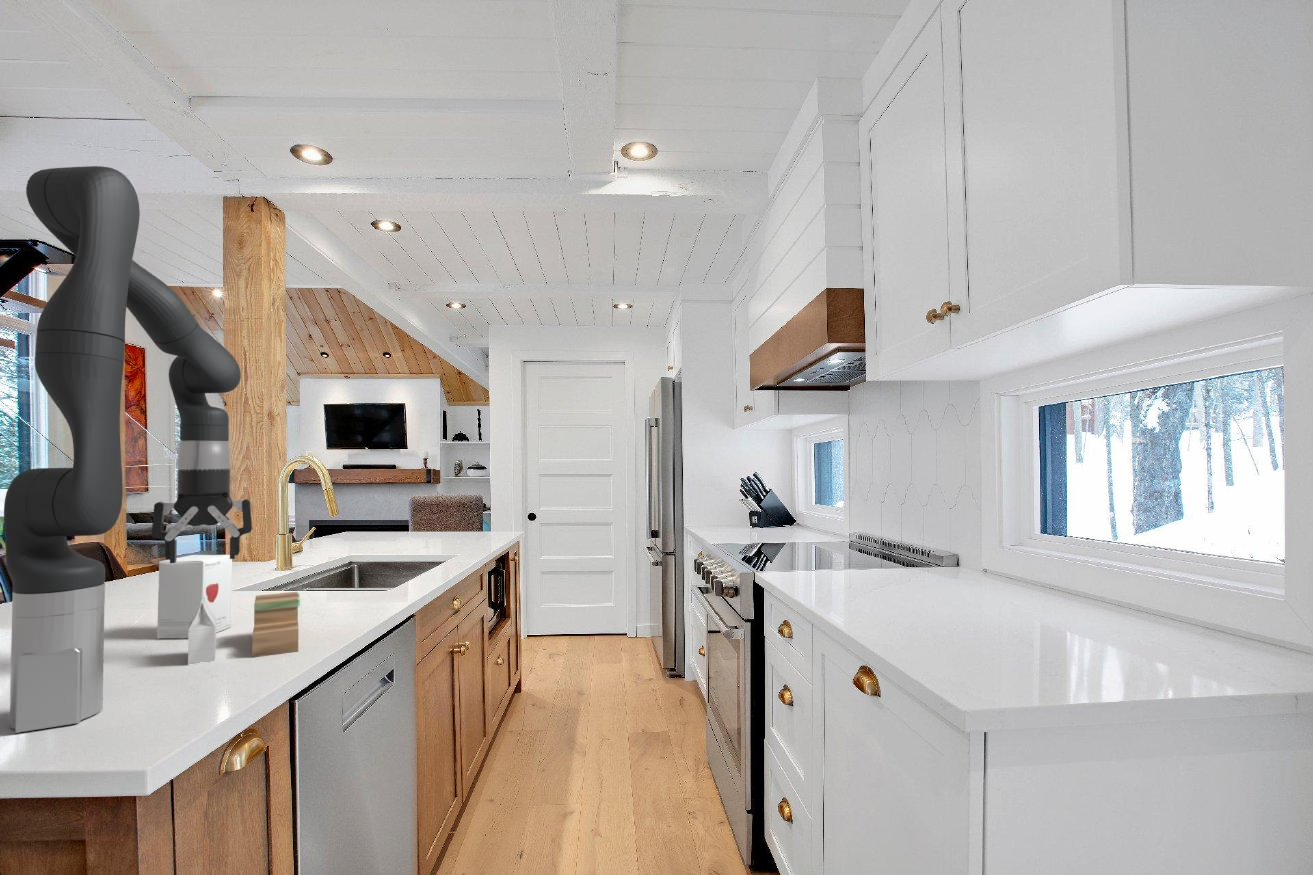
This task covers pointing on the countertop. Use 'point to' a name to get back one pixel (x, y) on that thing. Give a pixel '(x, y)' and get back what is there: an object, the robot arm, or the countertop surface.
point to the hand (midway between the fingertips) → (203, 560)
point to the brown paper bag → (275, 624)
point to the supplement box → (193, 592)
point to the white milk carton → (202, 635)
